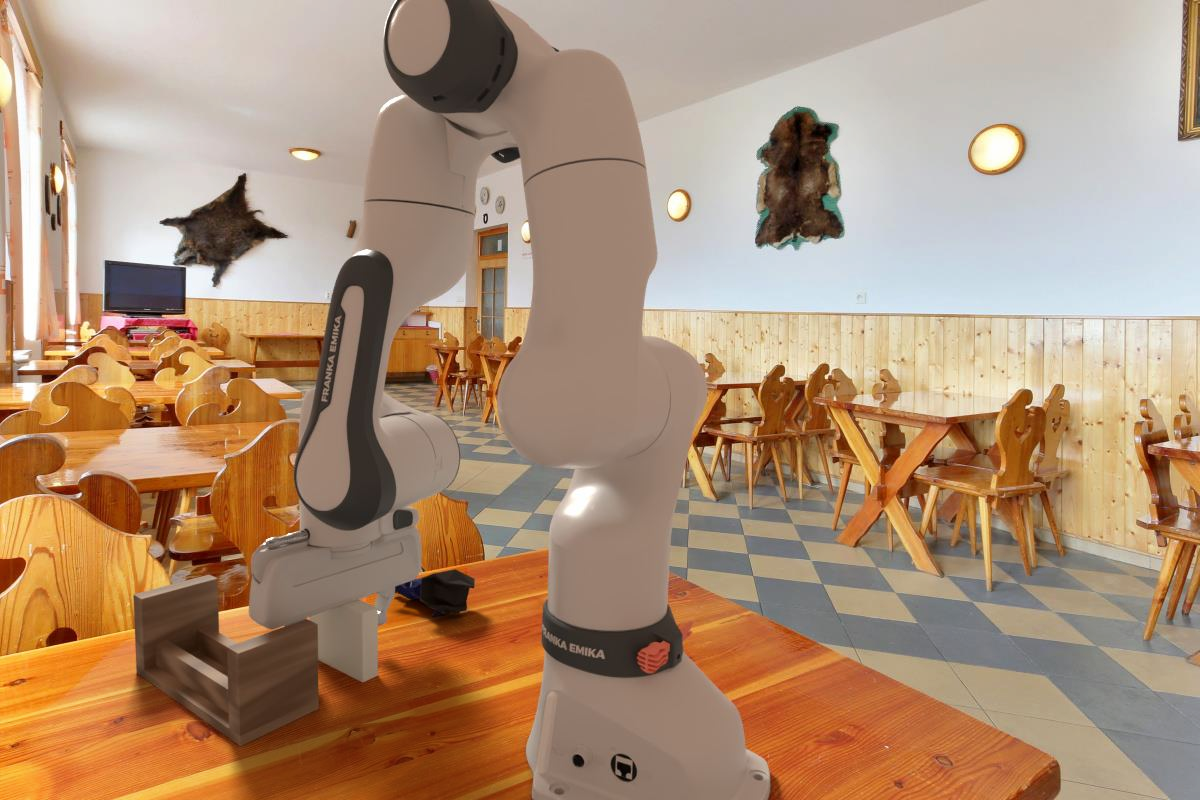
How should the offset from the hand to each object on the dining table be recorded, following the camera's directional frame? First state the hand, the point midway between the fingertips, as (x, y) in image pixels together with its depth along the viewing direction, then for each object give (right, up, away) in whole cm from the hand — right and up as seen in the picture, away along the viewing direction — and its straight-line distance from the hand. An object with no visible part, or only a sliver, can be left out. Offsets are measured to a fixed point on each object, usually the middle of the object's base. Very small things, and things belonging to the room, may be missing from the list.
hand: (342, 638), depth 79 cm
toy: (+6, -2, +18) cm, 19 cm away
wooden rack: (-10, -4, -6) cm, 13 cm away
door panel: (0, -3, 0) cm, 3 cm away
